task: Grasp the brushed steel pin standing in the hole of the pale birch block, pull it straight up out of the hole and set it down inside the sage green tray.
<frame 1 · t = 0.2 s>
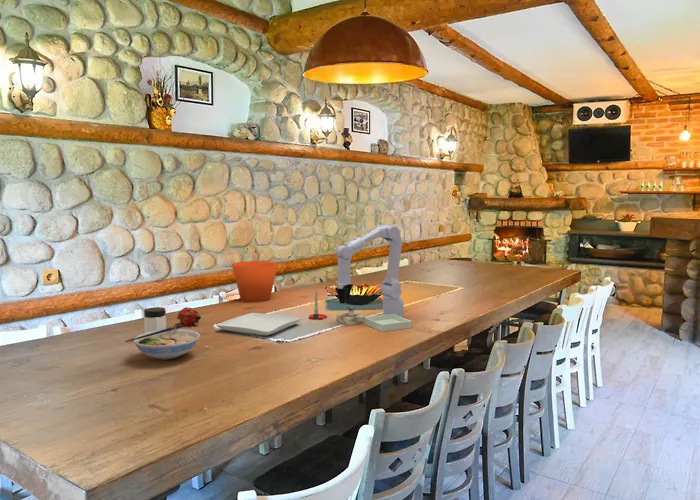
hand: (344, 301, 248), 10 cm above the table, tool pointing down, fingers open, 7 cm apart
pin block: (351, 321, 250), on the table
ramen bowl: (167, 357, 196), on the table
jar: (155, 338, 221), on the table
tow hook: (317, 318, 259), on the table
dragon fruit: (189, 325, 244), on the table
square plate: (259, 329, 238), on the table
flowerpot: (255, 299, 302), on the table
tray: (387, 325, 243), on the table
steel pin: (351, 314, 250), in the pin block
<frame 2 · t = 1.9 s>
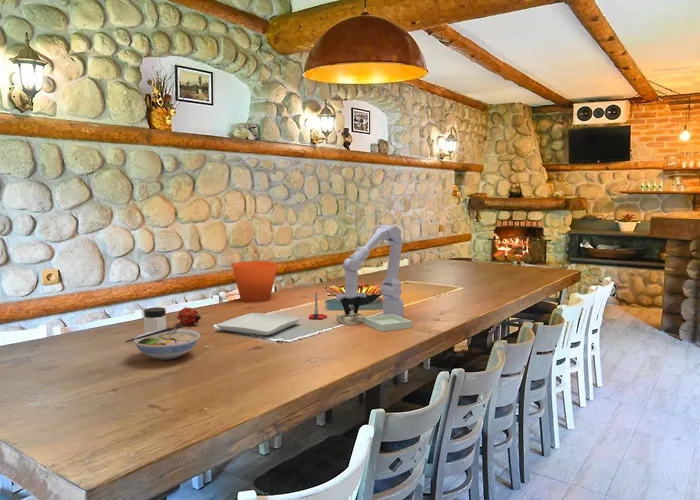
hand: (351, 313, 250), 4 cm above the table, tool pointing down, fingers closed on steel pin, 4 cm apart
steel pin: (351, 314, 250), in the pin block, touching gripper
everything else where it was.
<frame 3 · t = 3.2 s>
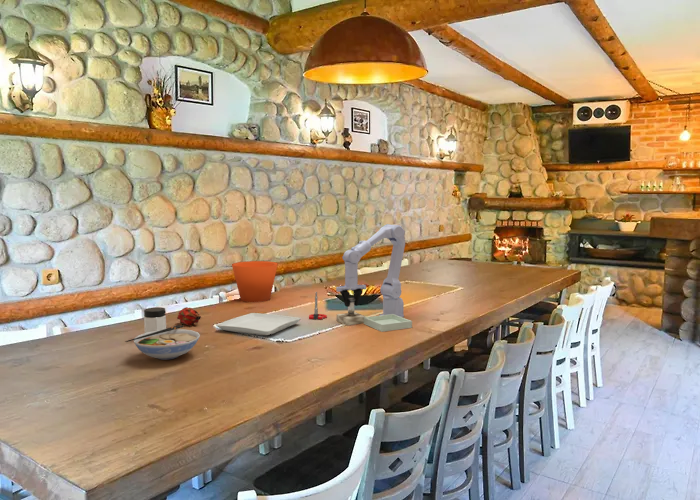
hand: (351, 305, 250), 7 cm above the table, tool pointing down, fingers closed on steel pin, 4 cm apart
steel pin: (351, 306, 250), point 7 cm above the table, touching gripper
everything else where it was.
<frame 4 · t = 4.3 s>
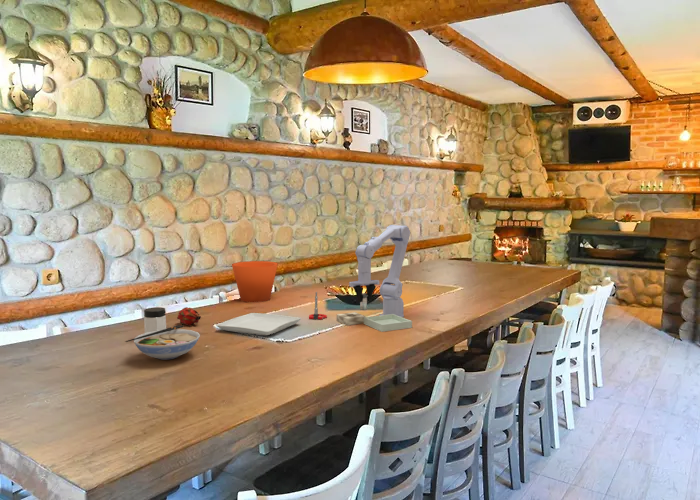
hand: (364, 301, 247), 10 cm above the table, tool pointing down, fingers closed on steel pin, 4 cm apart
steel pin: (363, 301, 247), point 10 cm above the table, touching gripper
everything else where it was.
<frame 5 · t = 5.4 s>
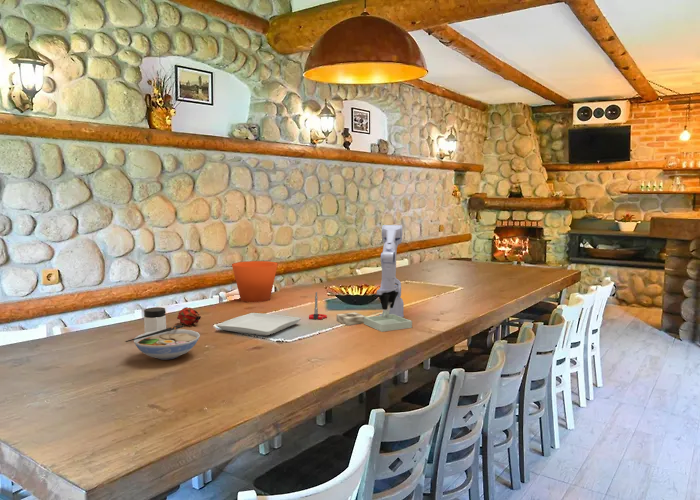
hand: (387, 308, 242), 8 cm above the table, tool pointing down, fingers closed on steel pin, 4 cm apart
steel pin: (386, 309, 243), point 8 cm above the table, tilted 8°, touching gripper
everything else where it was.
when the fingers open (6 cm above the table, at t = 6.5 s): steel pin drops 1 cm, resting on tray.
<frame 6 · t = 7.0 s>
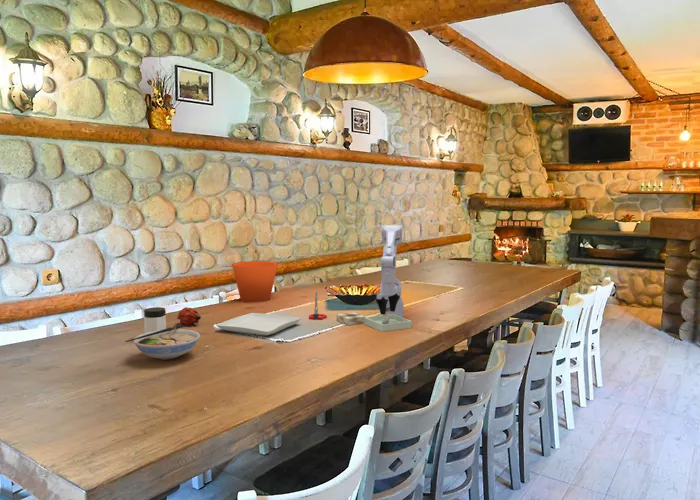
hand: (387, 312, 243), 6 cm above the table, tool pointing down, fingers open, 7 cm apart
steel pin: (385, 315, 243), in the tray, point 4 cm above the table
everything else where it was.
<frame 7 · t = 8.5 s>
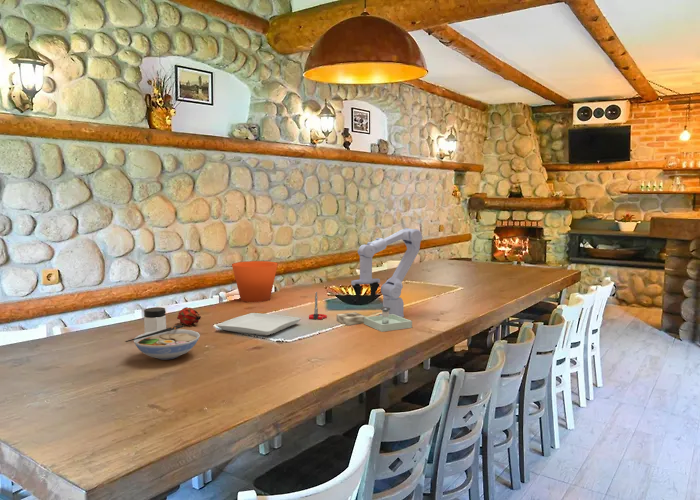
hand: (365, 299, 255), 10 cm above the table, tool pointing down, fingers open, 7 cm apart
nothing on the table moved.
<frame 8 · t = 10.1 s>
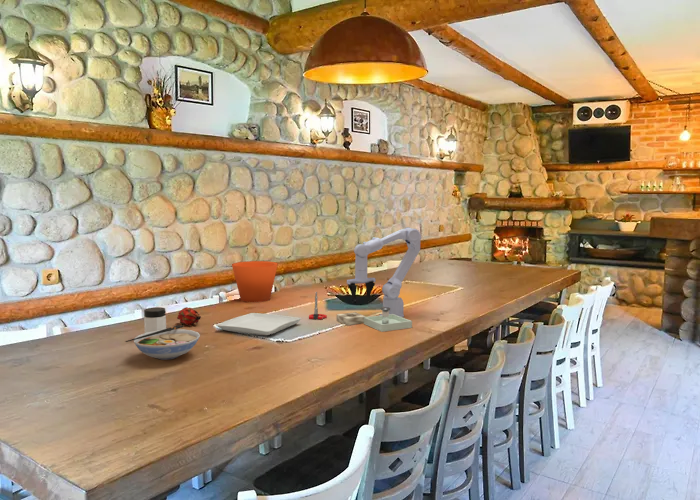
hand: (361, 298, 257), 9 cm above the table, tool pointing down, fingers open, 7 cm apart
nothing on the table moved.
at the end: steel pin inside the target area on the tray (1.0 cm from its centre), point 4.5 cm above the tray's base; steel pin moved 16.9 cm from its start; the gripper is holding nothing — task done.
